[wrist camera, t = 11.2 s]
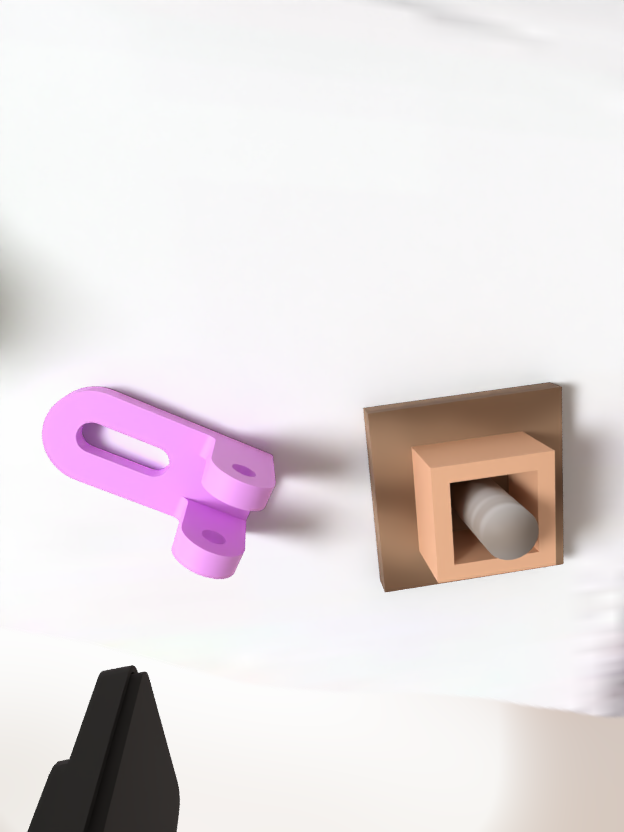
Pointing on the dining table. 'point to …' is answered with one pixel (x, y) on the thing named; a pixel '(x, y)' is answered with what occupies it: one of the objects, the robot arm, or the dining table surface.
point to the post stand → (470, 500)
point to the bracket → (167, 473)
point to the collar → (474, 460)
